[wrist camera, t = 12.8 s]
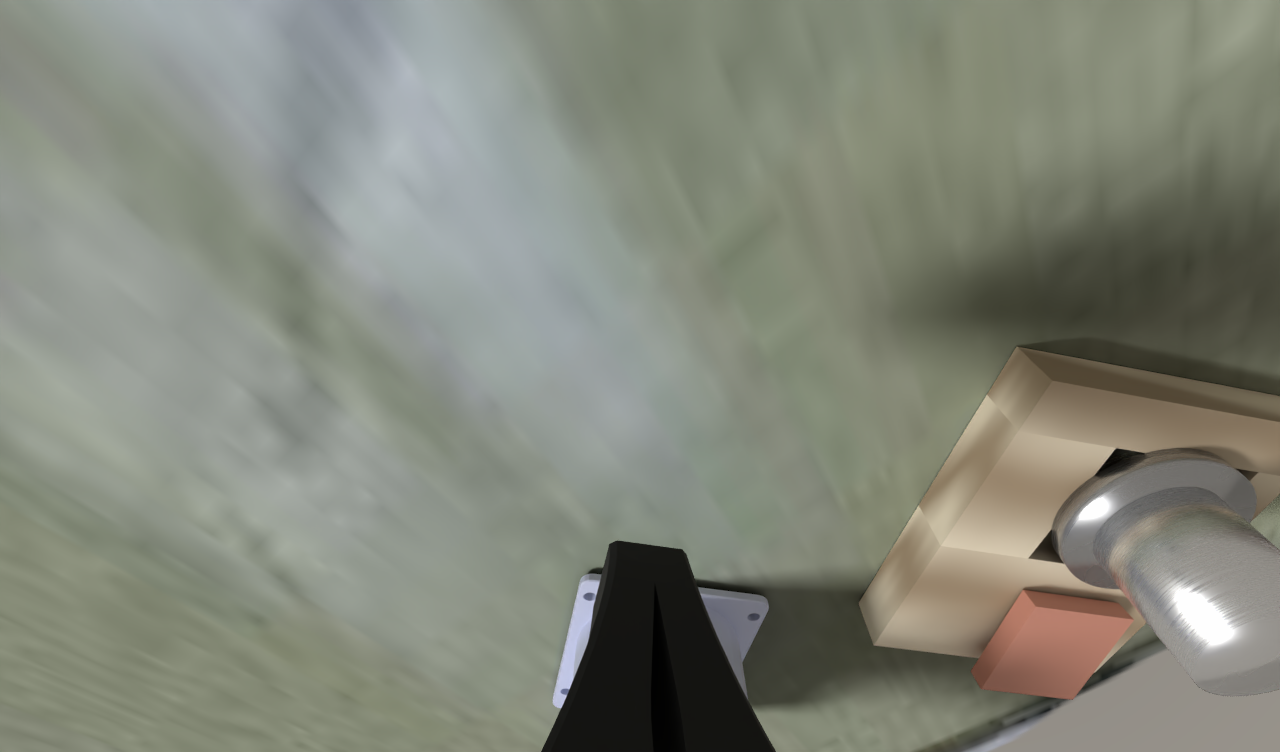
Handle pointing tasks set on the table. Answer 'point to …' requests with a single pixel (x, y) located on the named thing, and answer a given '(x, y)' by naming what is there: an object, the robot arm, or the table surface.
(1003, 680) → the latch tab
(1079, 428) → the hitch block
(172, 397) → the table surface
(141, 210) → the table surface
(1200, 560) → the silver knob
